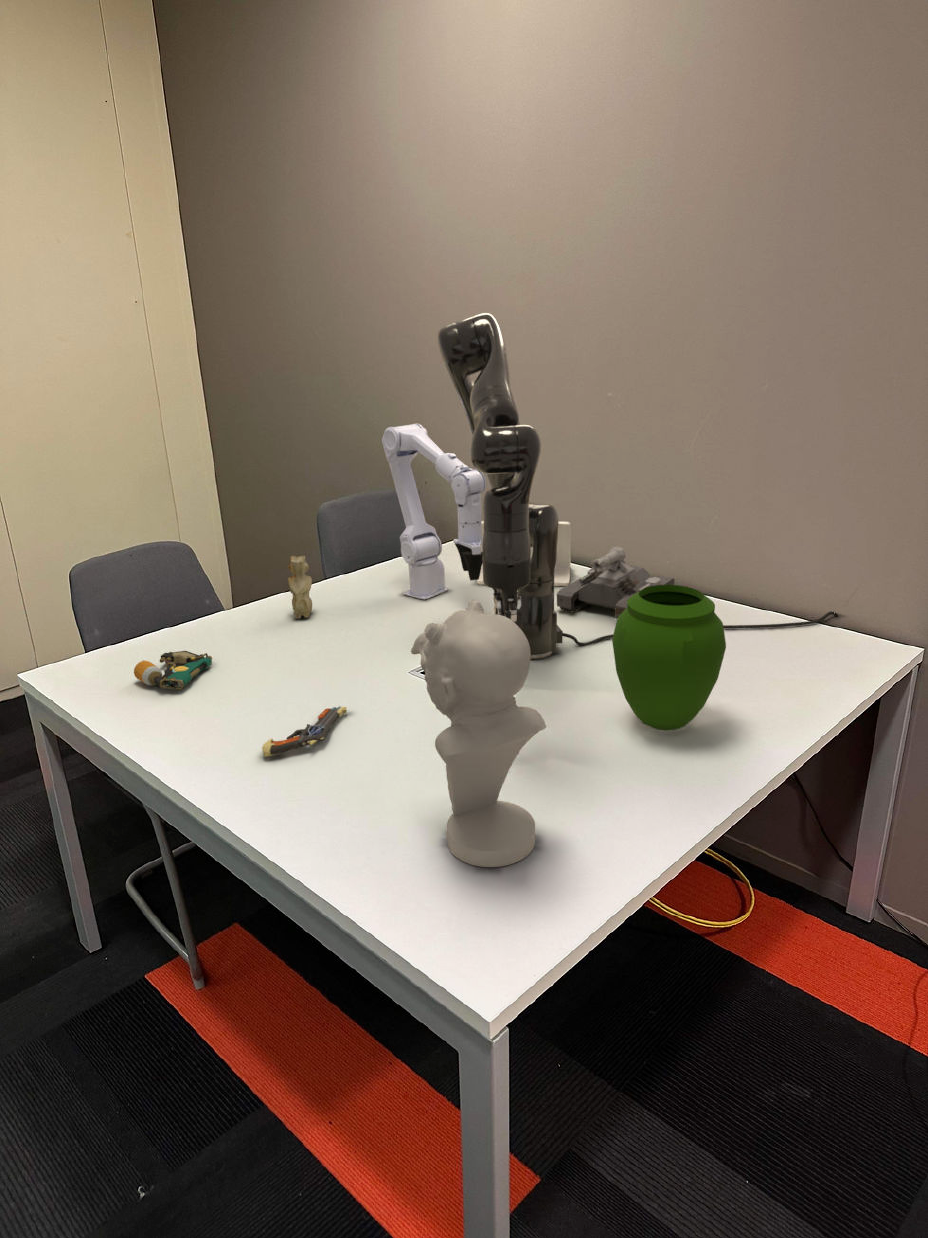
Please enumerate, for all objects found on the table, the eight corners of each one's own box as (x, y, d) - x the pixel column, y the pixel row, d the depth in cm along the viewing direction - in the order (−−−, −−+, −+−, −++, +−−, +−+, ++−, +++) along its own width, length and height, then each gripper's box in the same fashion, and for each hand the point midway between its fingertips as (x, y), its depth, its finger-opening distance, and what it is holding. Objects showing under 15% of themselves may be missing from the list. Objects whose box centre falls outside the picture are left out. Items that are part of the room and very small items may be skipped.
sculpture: (316, 609, 217) (311, 553, 212) (313, 619, 210) (307, 561, 205) (293, 610, 217) (287, 554, 211) (289, 620, 210) (283, 562, 205)
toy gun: (257, 746, 146) (311, 744, 144) (298, 704, 164) (347, 701, 161) (260, 761, 146) (314, 759, 144) (300, 717, 164) (349, 715, 162)
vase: (732, 711, 158) (744, 587, 150) (698, 758, 143) (709, 622, 134) (633, 689, 168) (638, 571, 159) (591, 730, 153) (595, 602, 144)
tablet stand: (569, 585, 229) (570, 524, 223) (476, 584, 232) (475, 523, 226) (570, 566, 246) (571, 508, 240) (484, 564, 249) (483, 507, 243)
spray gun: (177, 659, 191) (231, 671, 185) (120, 684, 176) (176, 698, 171) (176, 641, 190) (230, 653, 184) (118, 665, 175) (174, 678, 169)
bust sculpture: (481, 772, 140) (476, 569, 128) (565, 848, 120) (569, 617, 108) (392, 800, 134) (378, 588, 121) (465, 886, 114) (457, 642, 101)
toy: (603, 584, 229) (605, 530, 224) (673, 597, 218) (677, 540, 213) (555, 612, 210) (556, 553, 205) (630, 627, 199) (633, 566, 194)
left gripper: (447, 515, 211) (449, 567, 216) (459, 529, 198) (461, 585, 203) (475, 513, 213) (476, 565, 217) (489, 527, 199) (490, 582, 204)
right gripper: (477, 544, 140) (479, 640, 146) (489, 569, 127) (491, 674, 133) (522, 541, 141) (522, 637, 147) (538, 566, 128) (538, 671, 134)
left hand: (471, 574), depth 210 cm, fingers open, 7 cm apart
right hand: (507, 654), depth 140 cm, fingers closed on brick, 4 cm apart
